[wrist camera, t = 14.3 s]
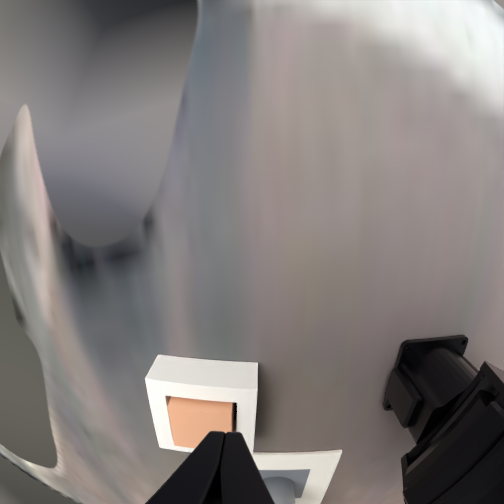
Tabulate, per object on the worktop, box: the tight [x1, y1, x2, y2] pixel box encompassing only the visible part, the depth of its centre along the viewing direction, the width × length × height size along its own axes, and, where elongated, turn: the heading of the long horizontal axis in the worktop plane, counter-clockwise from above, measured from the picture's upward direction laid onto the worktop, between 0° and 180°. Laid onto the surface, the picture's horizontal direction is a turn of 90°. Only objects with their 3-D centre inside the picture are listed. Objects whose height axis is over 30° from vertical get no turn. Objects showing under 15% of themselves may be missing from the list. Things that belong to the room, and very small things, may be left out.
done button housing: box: [145, 355, 258, 457], centre depth 19 cm, size 7×7×3 cm
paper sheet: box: [253, 449, 342, 504], centre depth 23 cm, size 13×11×1 cm
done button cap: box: [167, 396, 235, 448], centre depth 18 cm, size 4×4×3 cm
